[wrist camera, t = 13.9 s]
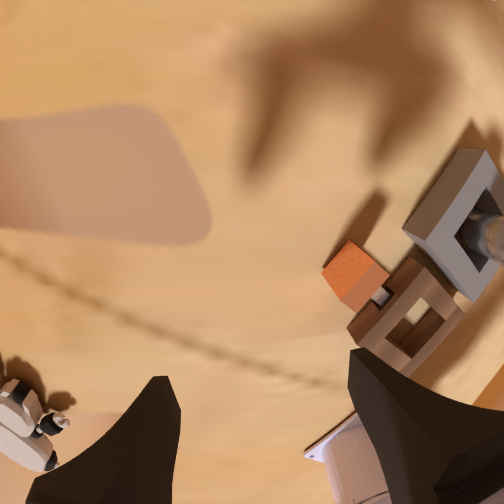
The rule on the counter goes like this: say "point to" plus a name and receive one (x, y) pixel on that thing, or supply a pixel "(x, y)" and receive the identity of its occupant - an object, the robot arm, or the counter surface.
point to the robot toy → (27, 428)
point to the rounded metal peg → (483, 234)
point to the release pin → (356, 278)
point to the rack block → (458, 219)
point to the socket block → (383, 321)
